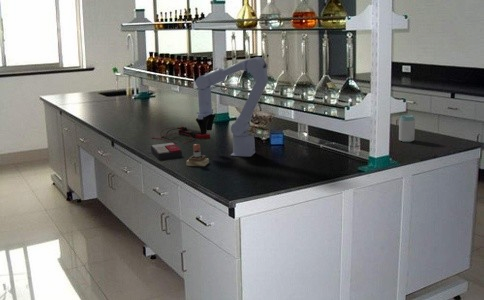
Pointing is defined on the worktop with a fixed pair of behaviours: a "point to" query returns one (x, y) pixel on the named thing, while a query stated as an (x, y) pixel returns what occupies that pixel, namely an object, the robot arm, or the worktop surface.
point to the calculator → (166, 151)
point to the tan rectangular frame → (197, 161)
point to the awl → (196, 151)
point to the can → (406, 128)
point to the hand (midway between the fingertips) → (206, 132)
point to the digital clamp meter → (187, 134)
